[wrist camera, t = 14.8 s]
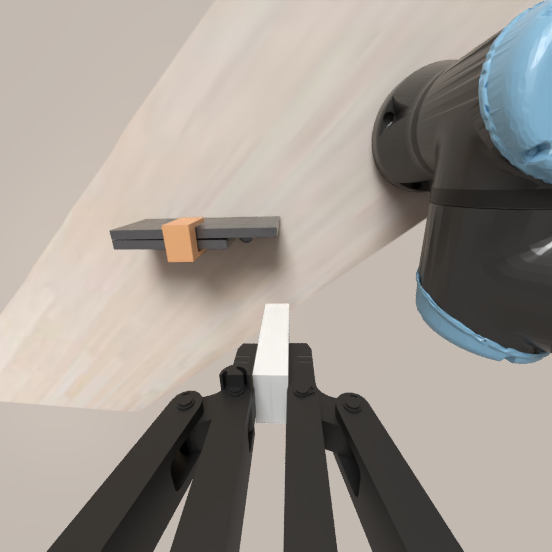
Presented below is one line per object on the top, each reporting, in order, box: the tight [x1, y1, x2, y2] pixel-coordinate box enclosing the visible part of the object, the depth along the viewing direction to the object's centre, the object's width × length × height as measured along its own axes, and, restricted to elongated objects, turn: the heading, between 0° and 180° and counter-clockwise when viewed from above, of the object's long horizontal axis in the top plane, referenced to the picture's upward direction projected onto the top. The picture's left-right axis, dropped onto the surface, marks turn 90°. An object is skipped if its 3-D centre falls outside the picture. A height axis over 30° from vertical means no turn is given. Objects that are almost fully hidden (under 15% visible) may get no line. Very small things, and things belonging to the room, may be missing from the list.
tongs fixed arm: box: [110, 217, 280, 243], centre depth 38 cm, size 22×3×9 cm, turn 92°
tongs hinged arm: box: [112, 238, 236, 249], centre depth 38 cm, size 15×1×9 cm, turn 91°
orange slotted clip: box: [162, 217, 207, 262], centre depth 34 cm, size 3×4×6 cm
